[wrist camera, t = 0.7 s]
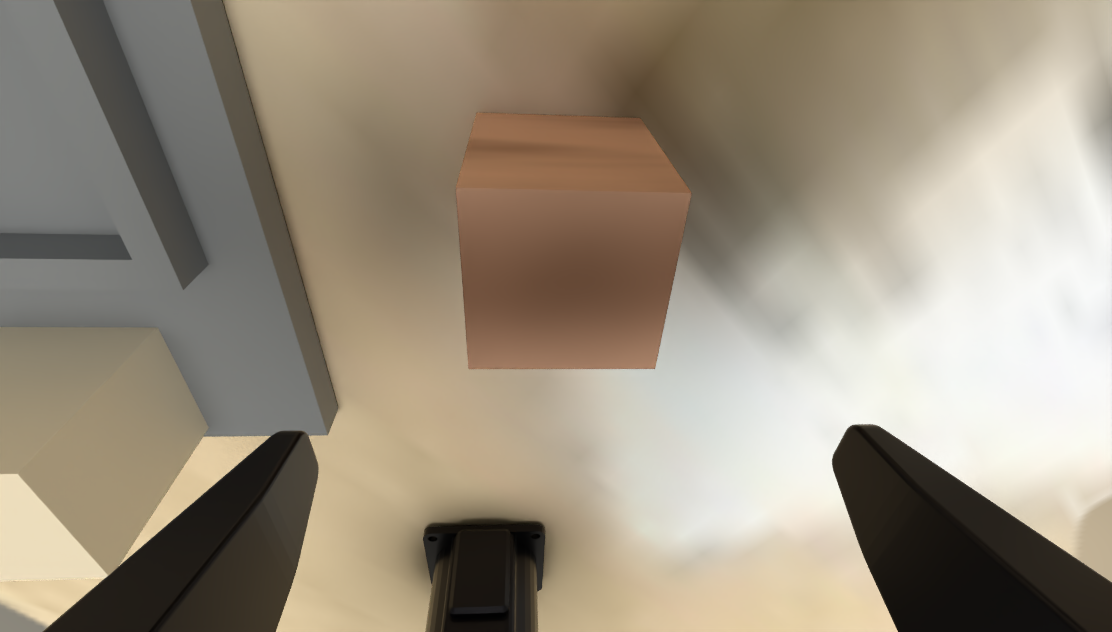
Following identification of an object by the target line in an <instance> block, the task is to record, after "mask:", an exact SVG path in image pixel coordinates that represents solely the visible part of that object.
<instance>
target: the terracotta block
mask: <svg viewBox="0 0 1112 632" xmlns="http://www.w3.org/2000/svg"><path fill="white" fill-rule="evenodd" d="M691 194H692V193H691V191H690V190H689V188H688V187H687V185H686V184H685V183H684V181H683V180H682V178H681V177H680V175H679V174H678V172H677V171H676V169H675V168H674V167H673V165H672V164H671V162H670V161H669V159H668V158H667V156H666V155H665V153H664V152H663V151H662V149H661V148H660V146H659V145H658V143H657V142H656V140H655V139H654V137H653V136H652V134H651V133H650V132H649V130H648V129H647V127H646V126H645V124H644V123H643V121H642V120H641V118H627V117H597V116H566V115H536V114H506V113H476V117H475V120H474V124H473V127H472V131H471V135H470V138H469V142H468V145H467V149H466V152H465V156H464V160H463V163H462V167H461V170H460V174H459V177H458V181H457V185H456V199H457V213H458V227H459V241H460V255H461V269H462V283H463V297H464V311H465V325H466V339H467V353H468V367H469V369H655V366H656V361H657V357H658V352H659V347H660V342H661V338H662V333H663V328H664V323H665V318H666V314H667V309H668V304H669V299H670V295H671V290H672V285H673V280H674V276H675V271H676V266H677V261H678V256H679V252H680V247H681V242H682V237H683V233H684V228H685V223H686V218H687V213H688V209H689V204H690V199H691Z"/></svg>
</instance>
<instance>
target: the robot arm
mask: <svg viewBox="0 0 1112 632" xmlns="http://www.w3.org/2000/svg"><path fill="white" fill-rule="evenodd" d="M832 466H833V471H834V474H835V477H836V479H837V482H838V485H839V488H840V491H841V494H842V497H843V500H844V503H845V505H846V508H847V511H848V514H849V517H850V520H851V523H852V526H853V529H854V531H855V534H856V537H857V540H858V543H859V545H860V548H861V551H862V553H863V556H864V558H865V560H866V563H867V565H868V567H869V570H870V572H871V574H872V576H873V578H874V581H875V583H876V585H877V587H878V589H879V591H880V594H881V596H882V598H883V600H884V602H885V604H886V607H887V609H888V611H889V613H890V615H891V617H892V620H893V622H894V624H895V626H896V628H897V630H898V632H1112V582H1110V581H1109V580H1107V579H1106V578H1104V577H1103V576H1101V575H1100V574H1098V573H1097V572H1095V571H1094V570H1093V569H1091V568H1089V567H1088V566H1087V565H1085V564H1084V563H1082V562H1081V561H1079V560H1078V559H1076V558H1075V557H1073V556H1072V555H1070V554H1069V553H1067V552H1066V551H1064V550H1063V549H1061V548H1060V547H1058V546H1057V545H1055V544H1054V543H1052V542H1051V541H1049V540H1048V539H1046V538H1045V537H1043V536H1042V535H1040V534H1039V533H1037V532H1036V531H1034V530H1033V529H1032V528H1030V527H1029V526H1027V525H1026V524H1024V523H1023V522H1021V521H1020V520H1018V519H1017V518H1015V517H1014V516H1012V515H1011V514H1009V513H1008V512H1006V511H1005V510H1003V509H1002V508H1000V507H999V506H997V505H996V504H994V503H993V502H991V501H990V500H988V499H987V498H985V497H984V496H982V495H981V494H979V493H978V492H976V491H975V490H973V489H972V488H971V487H969V486H968V485H966V484H965V483H963V482H962V481H960V480H959V479H957V478H956V477H954V476H953V475H951V474H950V473H948V472H947V471H945V470H944V469H942V468H941V467H939V466H938V465H936V464H935V463H933V462H932V461H930V460H929V459H927V458H926V457H924V456H923V455H921V454H920V453H918V452H917V451H915V450H914V449H912V448H911V447H909V446H908V445H907V444H905V443H904V442H902V441H901V440H899V439H898V438H896V437H895V436H893V435H892V434H890V433H889V432H887V431H886V430H884V429H883V428H881V427H879V426H877V425H873V424H859V425H852V426H850V427H849V428H848V429H847V430H846V432H845V434H844V436H843V438H842V439H841V441H840V443H839V445H838V447H837V449H836V450H835V452H834V454H833V458H832ZM317 479H318V462H317V459H316V456H315V453H314V451H313V448H312V445H311V442H310V439H309V436H308V434H307V433H306V432H304V431H301V430H295V431H279V432H276V433H275V434H273V435H272V436H271V437H269V438H268V439H267V440H266V441H265V442H264V443H262V444H261V445H260V446H259V447H258V448H257V449H255V450H254V451H253V452H252V453H251V454H250V455H248V456H247V457H246V458H245V459H244V460H243V461H241V462H240V463H239V464H238V465H237V466H236V467H234V468H233V469H232V470H231V471H230V472H229V473H227V474H226V475H225V476H224V477H223V478H222V479H220V480H219V481H218V482H217V483H216V484H215V485H213V486H212V487H211V488H210V489H209V490H208V491H206V492H205V493H204V494H203V495H202V496H201V497H199V498H198V499H197V500H196V501H195V502H194V503H192V504H191V505H190V506H189V507H188V508H187V509H185V510H184V511H183V512H182V513H181V514H180V515H178V516H177V517H176V518H175V519H174V520H173V521H171V522H170V523H169V524H168V525H167V526H165V527H164V528H163V529H162V530H161V531H160V532H158V533H157V534H156V535H155V536H154V537H153V538H151V539H150V540H149V541H148V542H147V543H146V544H144V545H143V546H142V547H141V548H140V549H139V550H137V551H136V552H135V553H134V554H133V555H132V556H130V557H129V558H128V559H127V560H126V561H125V562H123V563H122V564H121V565H120V566H119V567H118V568H116V569H115V570H114V571H113V572H112V573H111V574H109V575H108V576H107V577H106V578H105V579H104V580H102V581H101V582H100V583H99V584H98V585H97V586H95V587H94V588H93V589H92V590H91V591H90V592H88V593H87V594H86V595H85V596H84V597H83V598H81V599H80V600H79V601H78V602H77V603H76V604H74V605H73V606H72V607H71V608H70V609H68V610H67V611H66V612H65V613H64V614H63V615H61V616H60V617H59V618H58V619H57V620H56V621H54V622H53V623H52V624H51V625H50V626H49V627H47V628H46V629H45V630H44V631H43V632H276V629H277V626H278V623H279V621H280V618H281V615H282V612H283V609H284V606H285V603H286V600H287V597H288V595H289V592H290V589H291V586H292V583H293V579H294V576H295V573H296V570H297V566H298V562H299V558H300V554H301V549H302V545H303V541H304V536H305V532H306V527H307V523H308V519H309V514H310V510H311V506H312V501H313V497H314V492H315V488H316V484H317ZM423 541H424V547H425V552H426V557H427V562H428V568H429V573H430V578H431V584H432V589H431V596H430V603H429V611H428V618H427V625H426V632H538V610H537V591H539V590H541V589H542V579H543V562H544V545H545V529H544V527H543V526H541V525H537V524H532V525H488V526H444V527H429V528H426V529H425V531H424V537H423Z"/></svg>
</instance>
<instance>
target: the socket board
mask: <svg viewBox="0 0 1112 632" xmlns="http://www.w3.org/2000/svg"><path fill="white" fill-rule="evenodd" d="M337 411H338V406H337V402H336V399H335V395H334V392H333V388H332V385H331V381H330V377H329V374H328V370H327V367H326V363H325V360H324V356H323V353H322V349H321V346H320V342H319V339H318V335H317V332H316V328H315V325H314V321H313V318H312V314H311V311H310V307H309V304H308V300H307V297H306V293H305V290H304V286H303V283H302V279H301V276H300V272H299V269H298V265H297V262H296V258H295V255H294V251H293V248H292V244H291V241H290V237H289V234H288V230H287V227H286V223H285V220H284V216H283V213H282V209H281V206H280V202H279V199H278V195H277V192H276V188H275V185H274V181H273V178H272V174H271V171H270V167H269V164H268V160H267V157H266V153H265V149H264V146H263V142H262V139H261V135H260V132H259V128H258V125H257V121H256V118H255V114H254V111H253V107H252V104H251V100H250V97H249V93H248V90H247V86H246V83H245V79H244V76H243V72H242V69H241V65H240V62H239V58H238V55H237V51H236V48H235V44H234V41H233V37H232V34H231V30H230V27H229V23H228V20H227V16H226V13H225V9H224V6H223V2H222V0H0V581H34V580H69V579H104V578H106V577H107V576H108V575H109V574H111V573H112V572H113V571H114V570H115V569H116V568H118V566H119V565H120V563H121V562H122V560H123V559H124V557H125V556H126V554H127V553H128V551H129V549H130V548H131V546H132V545H133V543H134V542H135V540H136V539H137V537H138V536H139V534H140V533H141V531H142V530H143V528H144V526H145V525H146V523H147V522H148V520H149V519H150V517H151V516H152V514H153V513H154V511H155V510H156V508H157V507H158V505H159V503H160V502H161V500H162V499H163V497H164V496H165V494H166V493H167V491H168V490H169V488H170V487H171V485H172V484H173V482H174V480H175V479H176V477H177V476H178V474H179V473H180V471H181V470H182V468H183V467H184V465H185V464H186V462H187V461H188V459H189V457H190V456H191V454H192V453H193V451H194V450H195V448H196V447H197V445H198V444H199V442H200V441H201V439H202V438H203V437H206V436H272V435H273V434H275V433H276V432H279V431H295V430H301V431H304V432H306V433H307V434H308V435H328V433H329V431H330V428H331V426H332V423H333V421H334V418H335V416H336V413H337Z"/></svg>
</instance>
